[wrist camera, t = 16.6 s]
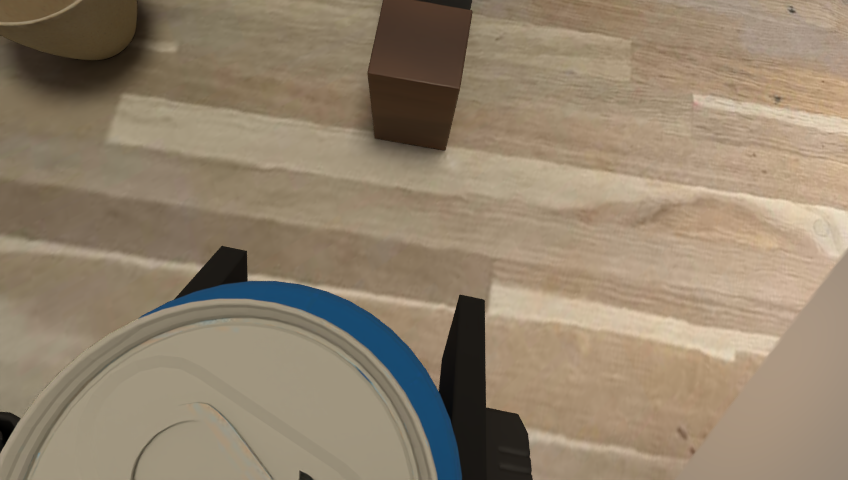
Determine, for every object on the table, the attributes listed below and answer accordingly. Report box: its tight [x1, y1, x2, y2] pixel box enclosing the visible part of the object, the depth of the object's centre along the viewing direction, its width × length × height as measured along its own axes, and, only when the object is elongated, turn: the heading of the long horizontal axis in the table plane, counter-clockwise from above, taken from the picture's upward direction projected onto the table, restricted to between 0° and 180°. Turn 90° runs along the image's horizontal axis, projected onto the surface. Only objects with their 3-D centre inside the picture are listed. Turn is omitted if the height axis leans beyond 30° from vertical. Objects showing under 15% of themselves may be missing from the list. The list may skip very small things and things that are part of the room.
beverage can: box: [0, 281, 462, 480], centre depth 12 cm, size 6×6×12 cm
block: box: [368, 0, 472, 150], centre depth 30 cm, size 5×5×8 cm
